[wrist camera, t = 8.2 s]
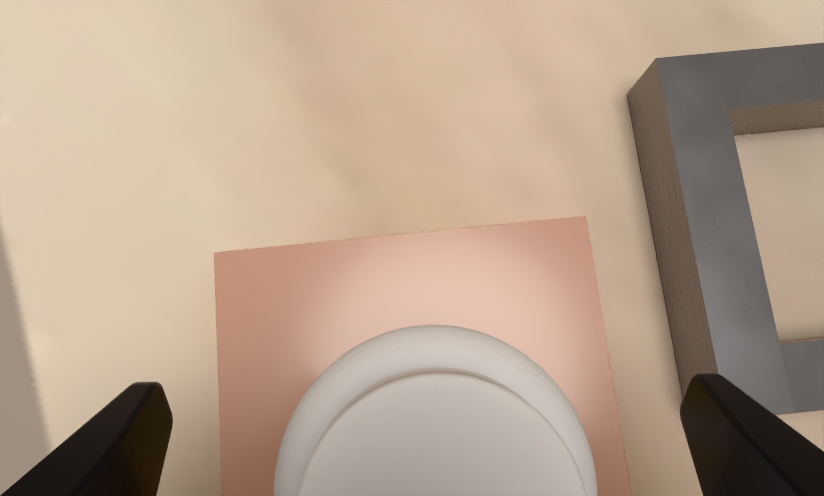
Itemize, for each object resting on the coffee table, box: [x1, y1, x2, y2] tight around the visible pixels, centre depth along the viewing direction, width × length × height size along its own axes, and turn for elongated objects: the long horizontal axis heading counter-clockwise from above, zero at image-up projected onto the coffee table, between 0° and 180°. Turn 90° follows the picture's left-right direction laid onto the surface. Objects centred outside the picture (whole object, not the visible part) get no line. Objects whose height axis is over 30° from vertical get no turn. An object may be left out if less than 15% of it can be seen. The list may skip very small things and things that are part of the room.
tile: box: [214, 216, 631, 496], centre depth 18 cm, size 12×12×1 cm
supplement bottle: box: [273, 325, 597, 496], centre depth 13 cm, size 6×6×10 cm
